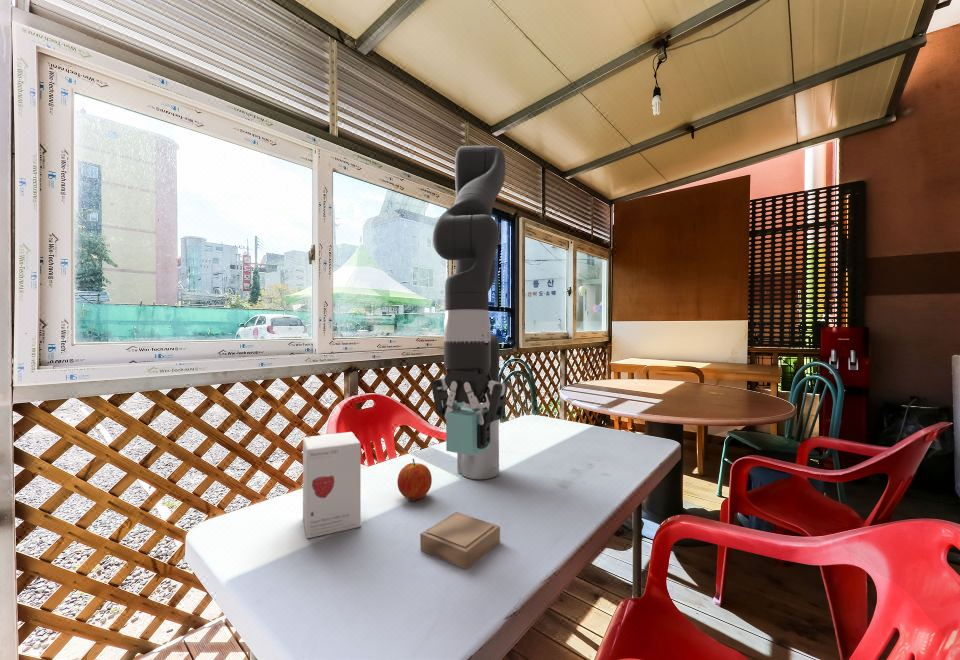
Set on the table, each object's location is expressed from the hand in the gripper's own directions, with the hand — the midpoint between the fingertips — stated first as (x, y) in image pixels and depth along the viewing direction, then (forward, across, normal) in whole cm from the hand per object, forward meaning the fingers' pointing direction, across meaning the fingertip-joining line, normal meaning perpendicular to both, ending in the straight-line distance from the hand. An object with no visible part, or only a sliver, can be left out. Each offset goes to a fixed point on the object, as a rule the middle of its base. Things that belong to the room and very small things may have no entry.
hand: (468, 444), depth 63 cm
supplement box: (+16, -25, -7) cm, 31 cm away
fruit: (+16, -20, +8) cm, 27 cm away
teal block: (+1, 0, 0) cm, 1 cm away
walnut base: (+16, -1, -1) cm, 16 cm away
